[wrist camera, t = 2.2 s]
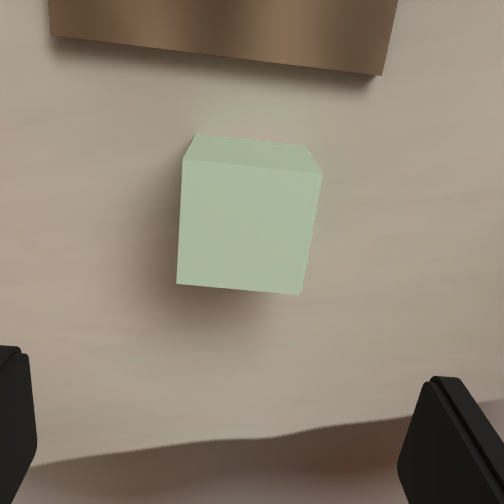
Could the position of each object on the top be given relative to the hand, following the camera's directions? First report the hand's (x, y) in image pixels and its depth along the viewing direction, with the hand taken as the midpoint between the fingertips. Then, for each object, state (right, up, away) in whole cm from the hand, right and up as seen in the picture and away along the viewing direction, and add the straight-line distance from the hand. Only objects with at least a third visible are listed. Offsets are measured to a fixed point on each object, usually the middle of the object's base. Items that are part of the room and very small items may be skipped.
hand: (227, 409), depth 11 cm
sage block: (0, +7, +15) cm, 17 cm away
